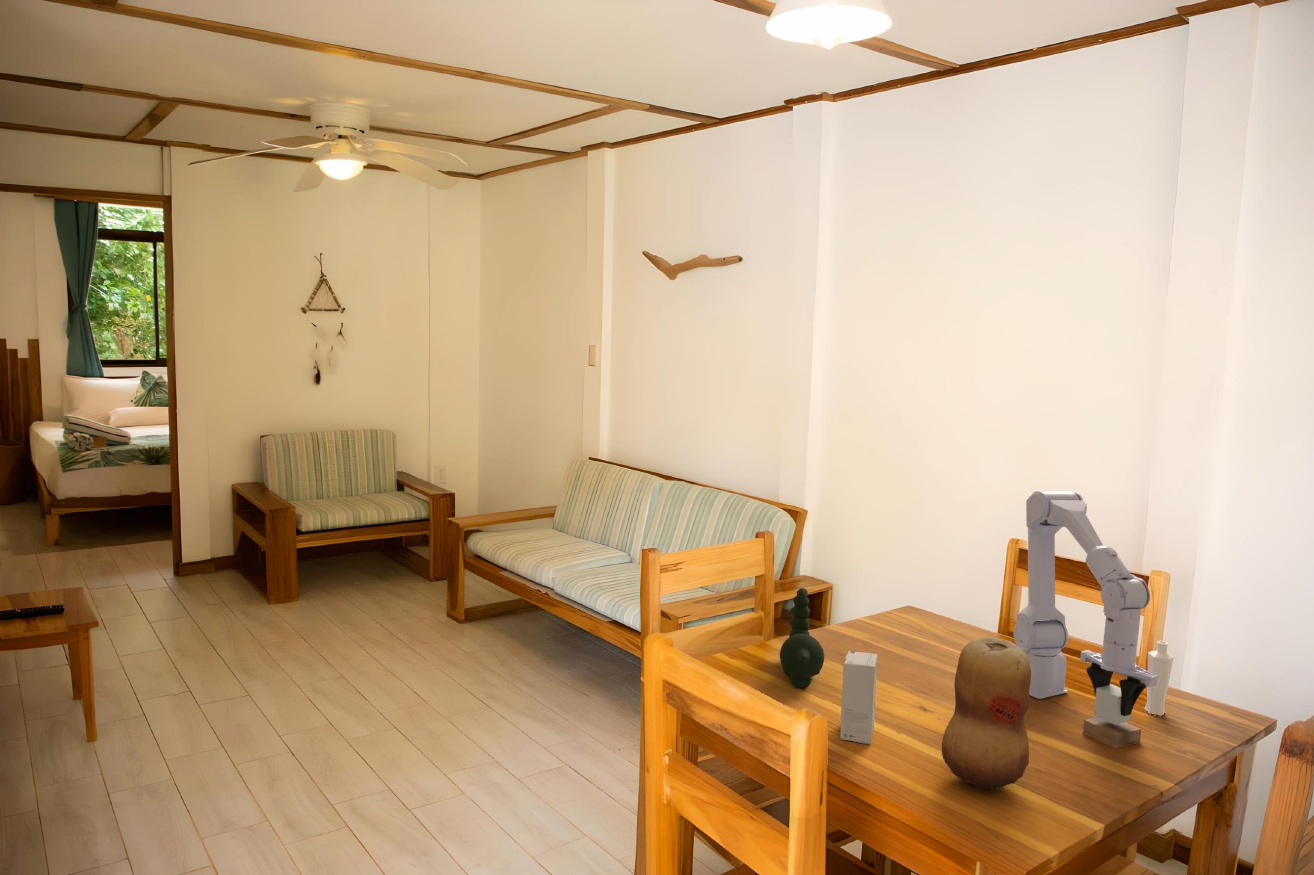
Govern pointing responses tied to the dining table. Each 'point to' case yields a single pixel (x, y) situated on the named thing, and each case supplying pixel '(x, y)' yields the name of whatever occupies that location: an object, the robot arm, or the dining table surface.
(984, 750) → the butternut squash
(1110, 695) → the grey block
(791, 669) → the toy figurine
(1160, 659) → the perfume bottle
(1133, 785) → the dining table surface
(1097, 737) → the walnut slab
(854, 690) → the skincare box
